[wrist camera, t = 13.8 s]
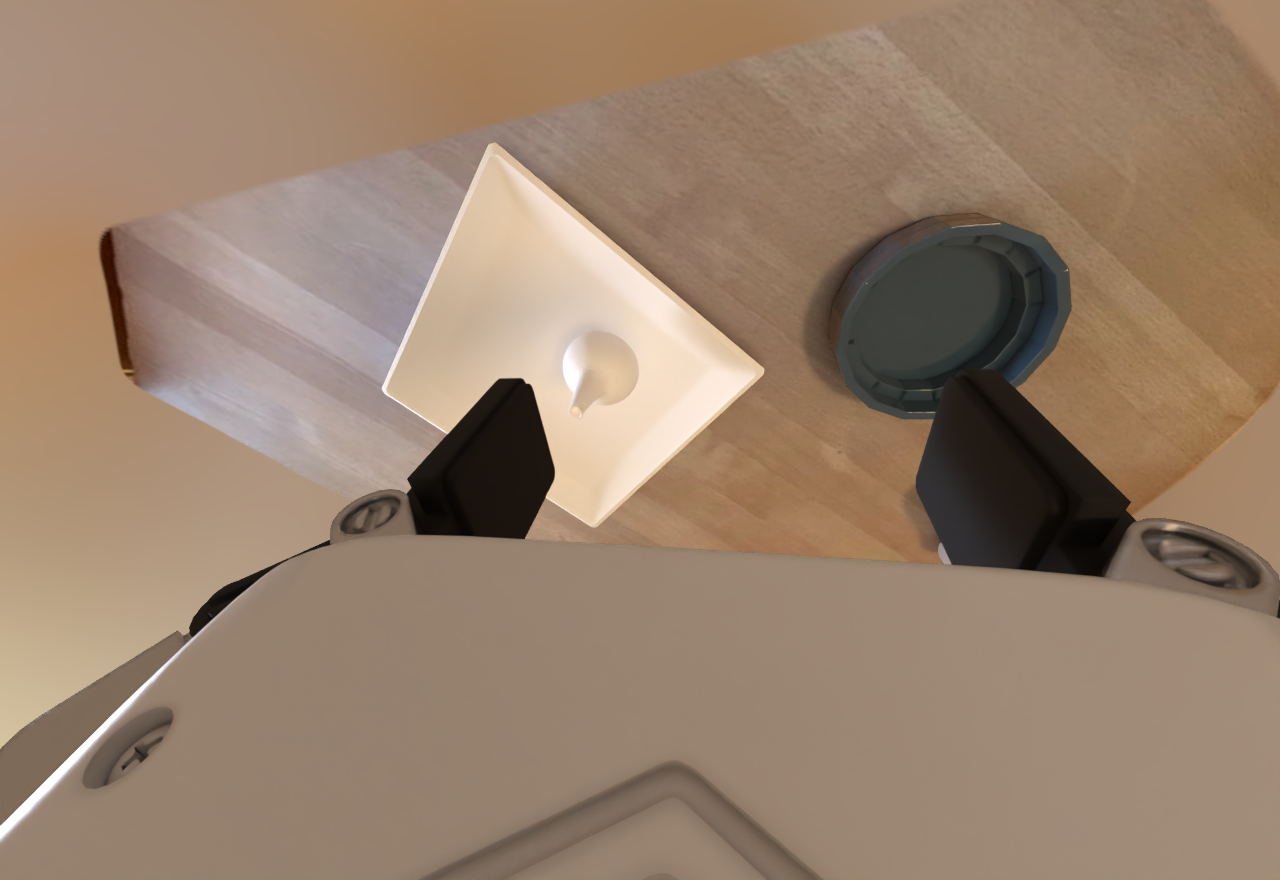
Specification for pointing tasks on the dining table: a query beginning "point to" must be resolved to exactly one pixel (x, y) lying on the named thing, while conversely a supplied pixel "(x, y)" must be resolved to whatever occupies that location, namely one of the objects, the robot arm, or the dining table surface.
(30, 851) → the robot arm
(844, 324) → the bowl
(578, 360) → the garlic bulb
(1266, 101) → the dining table surface
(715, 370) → the plate
